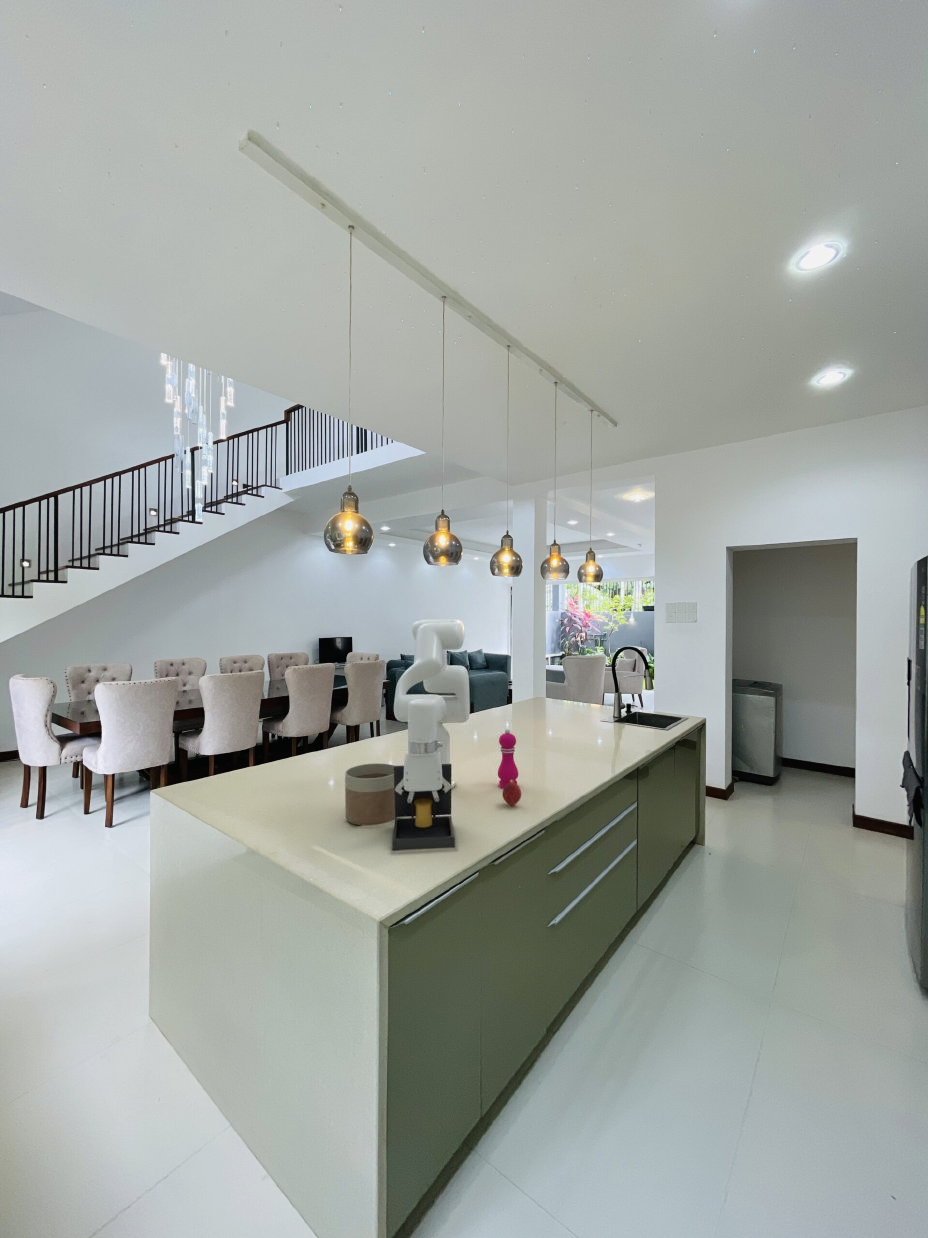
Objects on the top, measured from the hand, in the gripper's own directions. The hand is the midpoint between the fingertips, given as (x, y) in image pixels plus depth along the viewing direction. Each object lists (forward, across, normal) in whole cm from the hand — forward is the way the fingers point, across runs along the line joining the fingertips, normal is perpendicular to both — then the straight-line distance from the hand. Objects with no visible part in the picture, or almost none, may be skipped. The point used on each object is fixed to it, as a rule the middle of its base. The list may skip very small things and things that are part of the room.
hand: (423, 815), depth 136 cm
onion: (+7, -28, -22) cm, 36 cm away
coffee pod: (+2, 0, 0) cm, 2 cm away
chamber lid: (-4, 0, -6) cm, 7 cm away
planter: (+7, +15, -18) cm, 25 cm away
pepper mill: (+8, -30, -42) cm, 52 cm away
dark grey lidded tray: (+7, 0, 0) cm, 7 cm away
